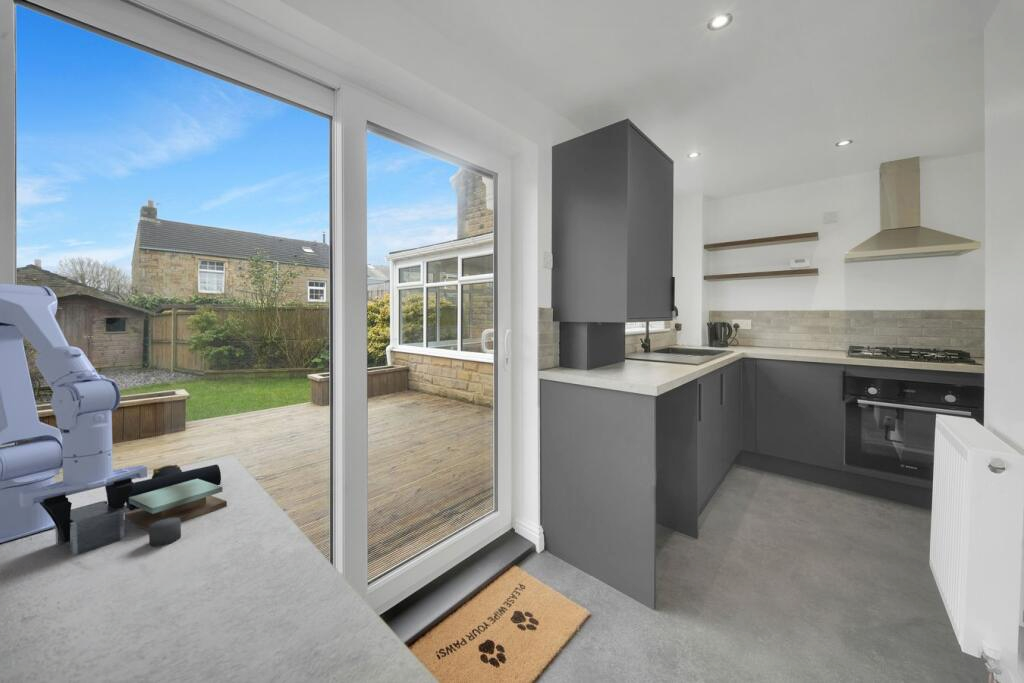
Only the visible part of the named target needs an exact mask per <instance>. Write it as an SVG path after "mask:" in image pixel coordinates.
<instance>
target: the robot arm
mask: <svg viewBox="0 0 1024 683" xmlns="http://www.w3.org/2000/svg"><path fill="white" fill-rule="evenodd" d="M57 311H58V298H57V295H56V293H55V292H54V291H53V290H52V289H51V288H50V287H48V286H46V285H37V286H36V285H27V284H26V285H25V284H13V283H2V282H1V283H0V446H1V447H0V544H2V543H5V542H9V541H12V540H15V539H19V538H23V537H25V536H30V535H32V534H37V533H39V532H43V531H47V530H49V529H53V528H55V525H56V527H57V529H58V532H59V535H60V540H61V541H62V542H64V543H66V542H69V541H70V513H71V509H72V506H73V505H72V504H73V503H72V502H71V501H69V497H67V496H71V495H75V494H76V495H77V494H79V493H83V492H86V491H87V492H88V491H91V490H95V489H99V488H103V487H105V493H106V498H107V499H106V501H107V505H109V506H111V507H113V508H115V509H120V508H122V509H124V506H125V505H126V501H127V499H128V497H129V495H130V494H131V492H132V491H133V489H134V486H135V483H134V482H133V480H136V479H143V478H147V477H148V466H146V465H144V464H141V465H140V464H139V465H137V466H135V465H134V466H130V467H124V468H119V469H114V460H113V457H114V454H113V416H112V415H113V413H112V412H114V411H116V410H117V409H118V407H119V406H120V403H121V401H122V400H121V399H122V394H121V389H120V387H119V385H118V383H117V382H116V381H115V380H114V379H112V378H109V377H108V378H107V377H106V375H105V374H99V373H98V371H97V370H96V368H95V367H94V365H93V364H92V363H91V361H90V359H88V357H87V355H86V354H85V352H84V351H83V350H82V349H81V348H79V347H78V346H77V347H76V346H74V345H73V346H71V345H69V343H68V342H67V339H66V337H65V335H64V333H63V331H62V329H61V327H60V325H59V323H58V321H57V319H56V317H55V316H56V314H57ZM24 338H25V339H26V340H27V341H28V343H29V344H31V345H32V347H33V348H34V350H36V352H37V353H38V354H39V355H37V357H36V358H35V361H34V364H35V366H36V368H37V369H38V371H39V372H40V374H41V376H42V377H43V379H44V380H45V381H46V384H47V385H48V386H49V388H50V389H51V391H52V392H53V393H52V395H51V399H50V406H51V410H52V412H53V414H54V416H55V419H56V420H55V421H56V426H57V427H56V426H52V425H50V424H47V423H44V422H43V421H42V422H41V421H40V418H39V417H40V416H39V413H38V408H37V402H36V399H35V394H34V390H33V389H34V388H33V384H32V380H31V375H30V371H29V370H30V369H29V365H28V360H27V357H26V352H25V346H24V341H23V340H24ZM26 441H27V442H26ZM21 442H22V443H21ZM15 443H17V444H15ZM10 444H12V445H10ZM61 469H62V481H58V482H56V479H55V478H56V477H55V476H56V475H60V472H61V471H60V470H61Z"/></svg>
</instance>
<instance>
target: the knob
mask: <svg viewBox="0 0 1024 683" xmlns="http://www.w3.org/2000/svg"><path fill="white" fill-rule="evenodd" d="M181 523H182V522H181V519H180V518H168V519H163V520H160V521H157V522H155V523H153V524H151V525H150V526H149V531H148V534H149V536H148V538H149V539H148V540H149V543H148V544H149V546H150V547H153V548H158V547H163V546H167V545H170V544H173V543H176V542H177V541H179V540H180V539H181V538H182V524H181Z"/></svg>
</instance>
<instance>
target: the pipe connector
mask: <svg viewBox="0 0 1024 683" xmlns="http://www.w3.org/2000/svg"><path fill="white" fill-rule="evenodd" d="M152 470H153V471H152V472H153V474H152V477H151V478H149V479H144V480H141V481H135V482H134V483H135V486H134V489H133V491H132V492H131V494H130V495H129V497H133V496H136V495H140V494H143V493H147V492H151V491H154V490H158V489H162V488H165V487H169V486H172V485H176V484H180V483H183V482H187V481H190V480H194V479H200V480H203V481H206V482H209V483H212V484H215V485H220V486H221V483H222V482H221V481H222V474H221V469H220V466H219V464H212V465H207V466H203V467H199V468H194V469H190V470H189V469H188V470H184V471H182V469H181V467H180V466H178V464H170V465H164V466H161V467H158V468H154V469H152ZM129 497H128V499H127V501H126V503H125V505H126V508H127V509H128V510H131V509H135V507H136V508H138V507H137V506H135V505H132V504H130V503H129Z"/></svg>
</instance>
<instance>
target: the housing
mask: <svg viewBox="0 0 1024 683" xmlns="http://www.w3.org/2000/svg"><path fill="white" fill-rule="evenodd" d="M124 511H125V510H124V508H123V509H122V508H120V509H115V508H113V507H111V506H109V505H108V501H107V500H101V501H97V502H94V503H91V504H87V505H83V506H79V507H76V508H71V513H70V541H69V542H66V543H64V542H62V541H61V540H60V535H59V532H58V529H57V527H56V525H55V527H54V528H55V529H54V530H55V544H56V545H57V546H60V545H63V546H65V547H67V548H68V549H69V550H70V555H71V556H72V557H73V556H74V557H75V556H77V555H81V554H83V553H86V552H89V551H92V550H95V549H99V548H101V547H103V546H106V545H110V544H113V543H115V542H118V541H121V540H124V539H125V516H124V514H125V513H124Z"/></svg>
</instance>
